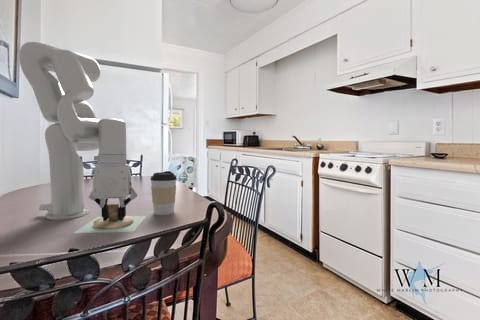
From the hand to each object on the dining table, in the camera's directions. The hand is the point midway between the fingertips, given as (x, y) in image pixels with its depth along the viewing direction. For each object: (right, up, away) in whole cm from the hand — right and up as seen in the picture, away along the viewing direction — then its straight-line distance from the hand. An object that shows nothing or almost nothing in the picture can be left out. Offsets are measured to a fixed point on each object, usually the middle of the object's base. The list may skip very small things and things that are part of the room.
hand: (113, 218), depth 80 cm
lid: (0, -1, 0) cm, 1 cm away
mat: (0, -2, 0) cm, 2 cm away
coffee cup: (+11, -1, +14) cm, 18 cm away
